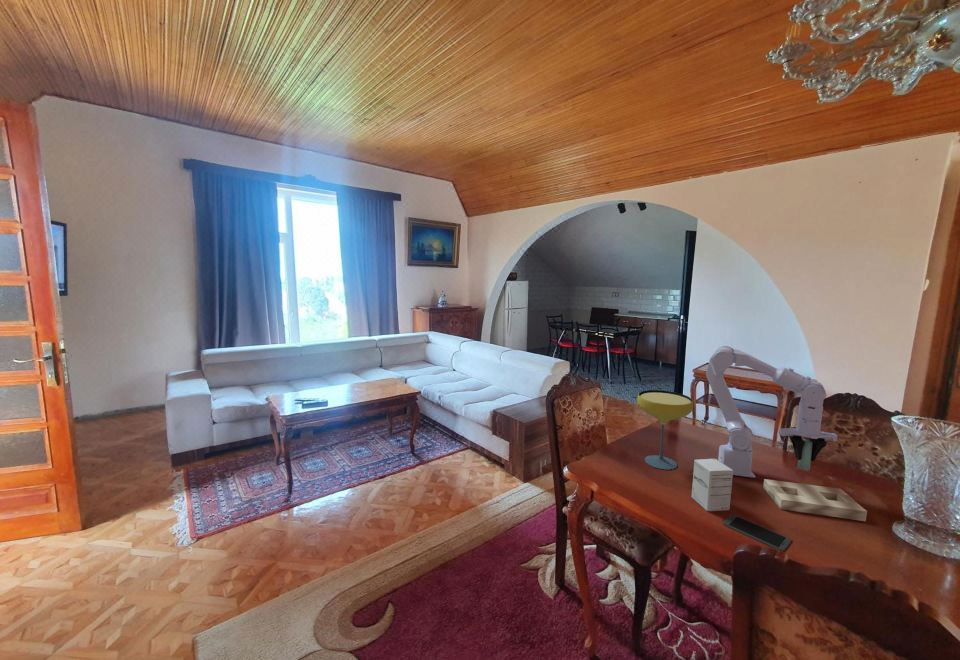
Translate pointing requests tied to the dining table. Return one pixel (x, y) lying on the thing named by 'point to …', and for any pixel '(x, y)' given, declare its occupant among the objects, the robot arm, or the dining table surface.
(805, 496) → the hole block
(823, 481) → the dining table surface
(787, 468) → the dining table surface
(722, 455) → the robot arm
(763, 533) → the cell phone
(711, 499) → the supplement box
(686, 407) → the cocktail glass
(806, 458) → the peg
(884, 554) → the dining table surface
